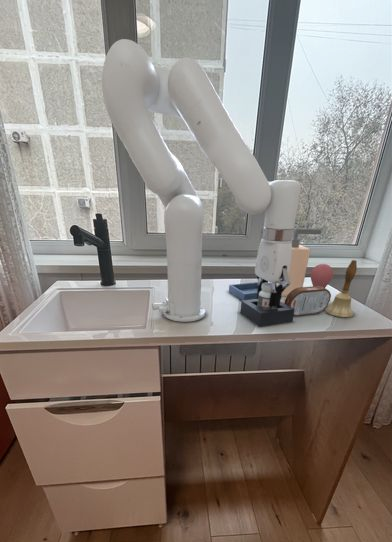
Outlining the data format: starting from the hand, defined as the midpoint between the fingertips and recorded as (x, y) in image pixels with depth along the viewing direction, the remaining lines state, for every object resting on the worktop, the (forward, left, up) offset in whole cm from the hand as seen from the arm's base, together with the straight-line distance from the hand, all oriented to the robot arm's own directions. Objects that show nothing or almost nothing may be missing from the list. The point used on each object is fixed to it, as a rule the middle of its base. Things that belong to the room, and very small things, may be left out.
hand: (267, 301), depth 83 cm
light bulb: (+27, +9, -5) cm, 29 cm away
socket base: (0, 0, -5) cm, 5 cm away
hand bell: (+24, -4, -5) cm, 25 cm away
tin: (+13, -2, -5) cm, 14 cm away
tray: (+8, +20, -5) cm, 22 cm away
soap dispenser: (+23, +18, -5) cm, 30 cm away
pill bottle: (0, 0, -5) cm, 5 cm away
